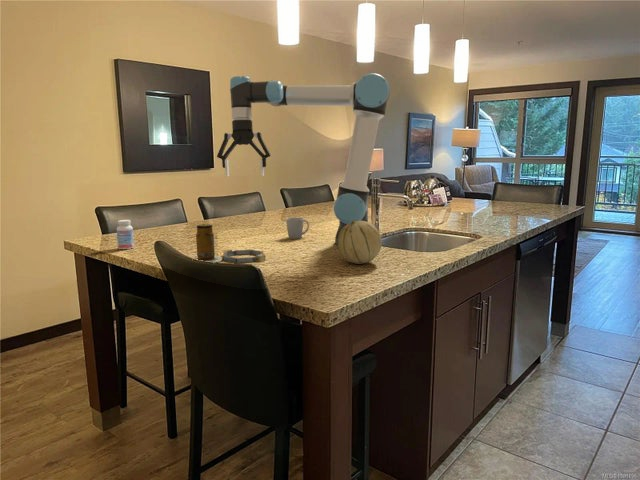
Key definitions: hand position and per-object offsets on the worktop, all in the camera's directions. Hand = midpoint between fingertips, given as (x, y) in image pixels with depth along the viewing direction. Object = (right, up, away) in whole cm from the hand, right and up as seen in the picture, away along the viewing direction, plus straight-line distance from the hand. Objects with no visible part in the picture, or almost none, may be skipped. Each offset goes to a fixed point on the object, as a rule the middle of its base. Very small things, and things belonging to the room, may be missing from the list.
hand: (244, 176), depth 184 cm
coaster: (-11, -32, -17) cm, 37 cm away
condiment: (-11, -31, -16) cm, 37 cm away
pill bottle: (-48, -28, +6) cm, 56 cm away
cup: (+19, -24, +25) cm, 40 cm away
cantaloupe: (+42, -33, -22) cm, 58 cm away
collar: (+2, -31, -13) cm, 34 cm away
